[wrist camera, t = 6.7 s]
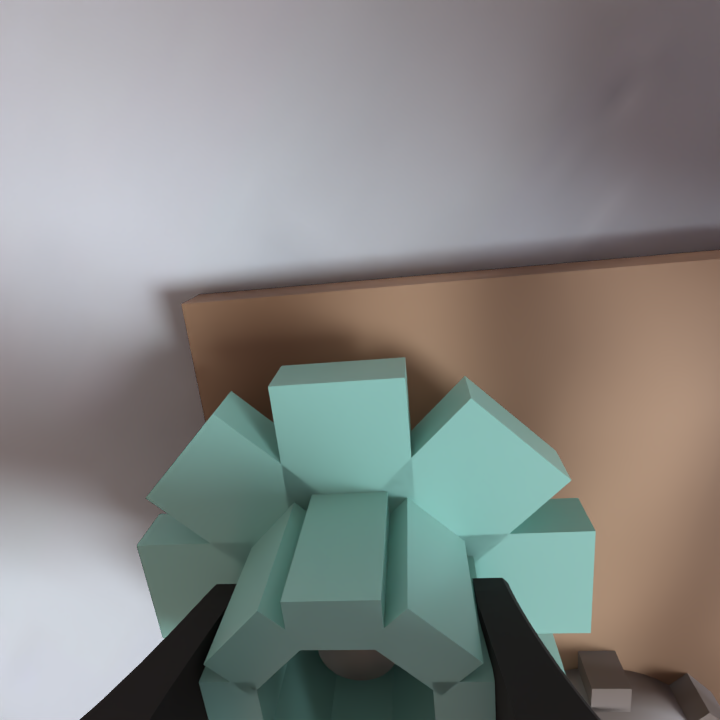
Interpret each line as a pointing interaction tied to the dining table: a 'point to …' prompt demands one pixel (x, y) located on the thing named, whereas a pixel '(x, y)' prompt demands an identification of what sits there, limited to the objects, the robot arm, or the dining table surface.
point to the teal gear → (363, 544)
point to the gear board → (547, 430)
